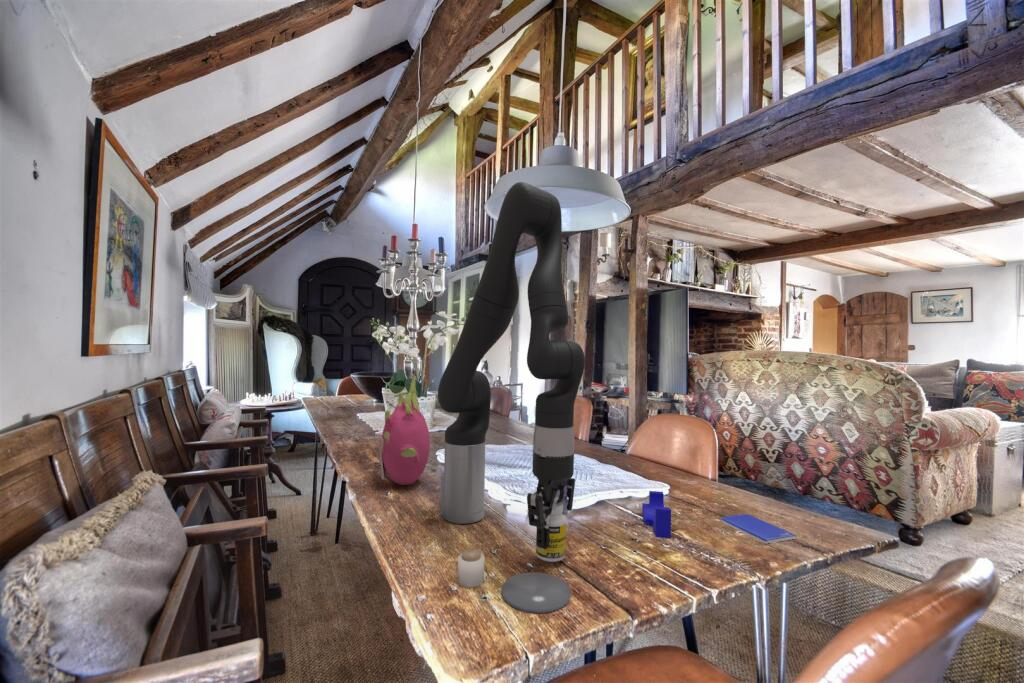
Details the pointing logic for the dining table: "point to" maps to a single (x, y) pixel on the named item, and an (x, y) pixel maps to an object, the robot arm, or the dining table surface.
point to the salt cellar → (471, 568)
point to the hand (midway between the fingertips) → (550, 541)
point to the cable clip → (657, 515)
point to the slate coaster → (536, 592)
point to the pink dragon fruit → (404, 440)
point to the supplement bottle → (554, 537)
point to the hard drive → (757, 528)
